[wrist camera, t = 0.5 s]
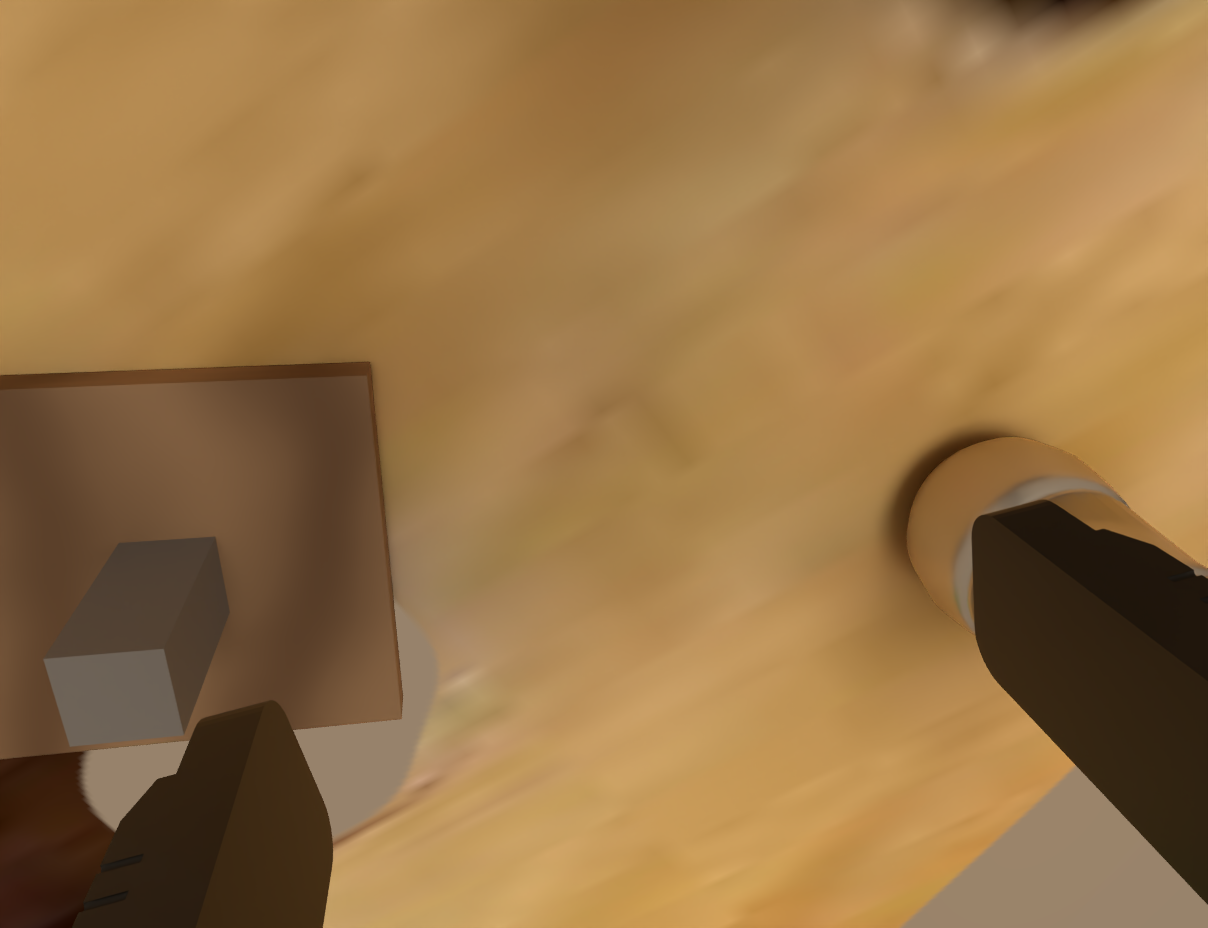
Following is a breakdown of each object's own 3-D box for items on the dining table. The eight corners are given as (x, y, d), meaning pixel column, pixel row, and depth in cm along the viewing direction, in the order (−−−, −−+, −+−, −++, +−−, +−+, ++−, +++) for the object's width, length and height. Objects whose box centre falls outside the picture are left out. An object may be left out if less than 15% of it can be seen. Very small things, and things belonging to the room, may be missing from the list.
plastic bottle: (916, 613, 33) (1490, 1282, 15) (857, 473, 30) (1485, 1099, 12) (1073, 531, 32) (1855, 1115, 15) (1029, 380, 29) (1945, 883, 12)
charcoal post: (118, 542, 25) (43, 658, 20) (215, 536, 26) (163, 649, 21) (137, 619, 26) (69, 746, 21) (229, 611, 27) (184, 735, 22)
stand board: (-261, 759, 27) (-290, 788, 26) (-448, 391, 22) (-493, 409, 21) (402, 695, 30) (401, 718, 29) (369, 361, 25) (366, 375, 24)
